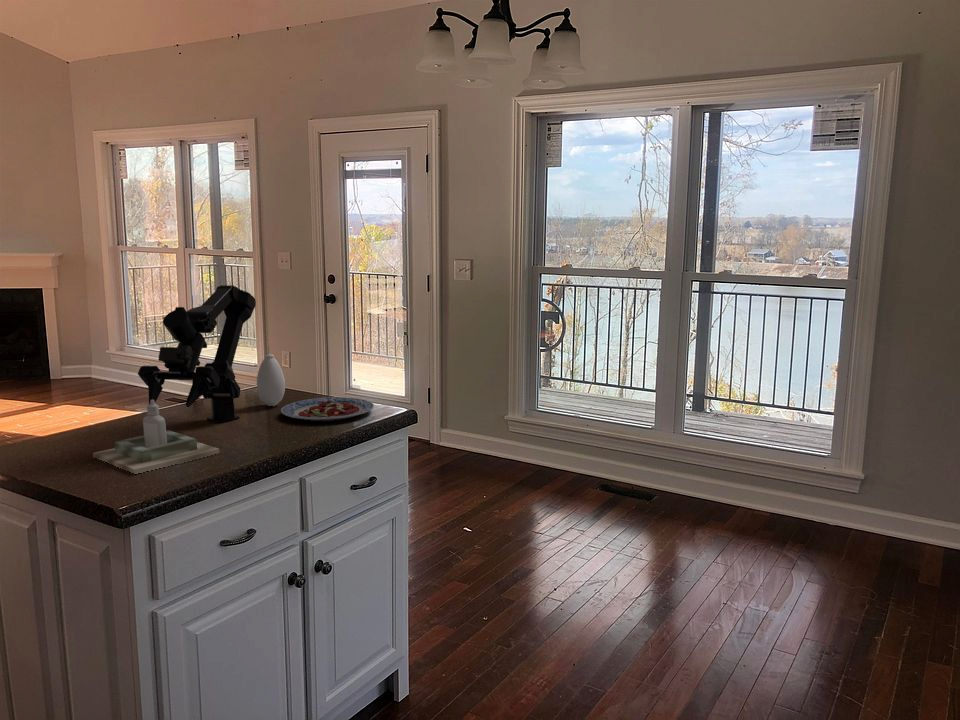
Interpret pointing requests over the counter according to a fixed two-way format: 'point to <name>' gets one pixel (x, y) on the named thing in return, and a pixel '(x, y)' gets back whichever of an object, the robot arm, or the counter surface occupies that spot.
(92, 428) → the counter surface
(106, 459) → the bottle socket
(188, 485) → the counter surface
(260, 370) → the white vase
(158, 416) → the eye dropper bottle
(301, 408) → the ceramic plate
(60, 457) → the counter surface
